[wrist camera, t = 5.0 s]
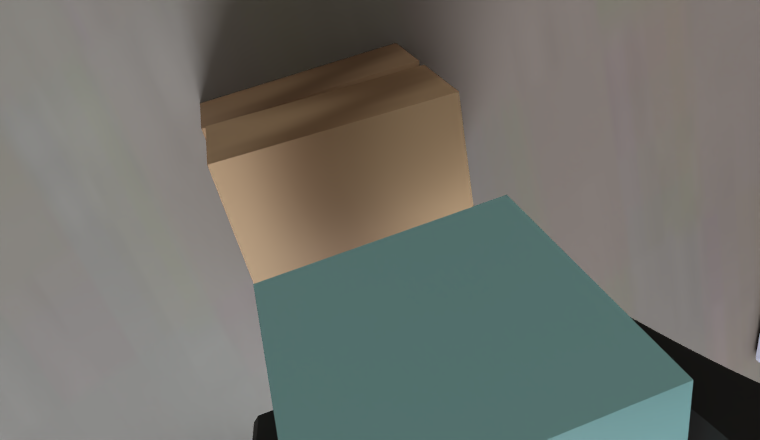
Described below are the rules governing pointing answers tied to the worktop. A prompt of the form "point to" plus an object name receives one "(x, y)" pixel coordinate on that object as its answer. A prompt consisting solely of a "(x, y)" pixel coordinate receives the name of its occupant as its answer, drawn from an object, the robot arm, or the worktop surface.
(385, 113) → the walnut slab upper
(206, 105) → the walnut slab lower
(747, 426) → the robot arm
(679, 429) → the teal cube
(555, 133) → the worktop surface
